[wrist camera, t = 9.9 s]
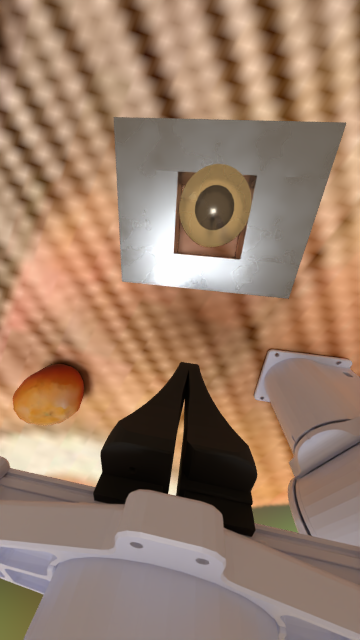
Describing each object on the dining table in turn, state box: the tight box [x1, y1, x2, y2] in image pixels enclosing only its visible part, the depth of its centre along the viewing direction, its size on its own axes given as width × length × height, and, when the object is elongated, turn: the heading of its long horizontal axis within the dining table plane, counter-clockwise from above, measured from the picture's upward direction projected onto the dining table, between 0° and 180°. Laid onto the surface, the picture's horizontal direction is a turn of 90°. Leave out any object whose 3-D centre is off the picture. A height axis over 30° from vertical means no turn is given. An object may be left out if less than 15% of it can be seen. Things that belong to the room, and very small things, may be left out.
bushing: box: [179, 164, 251, 247], centre depth 14 cm, size 4×4×7 cm
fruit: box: [13, 364, 84, 426], centre depth 25 cm, size 8×8×8 cm
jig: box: [114, 117, 346, 299], centre depth 16 cm, size 16×12×3 cm
